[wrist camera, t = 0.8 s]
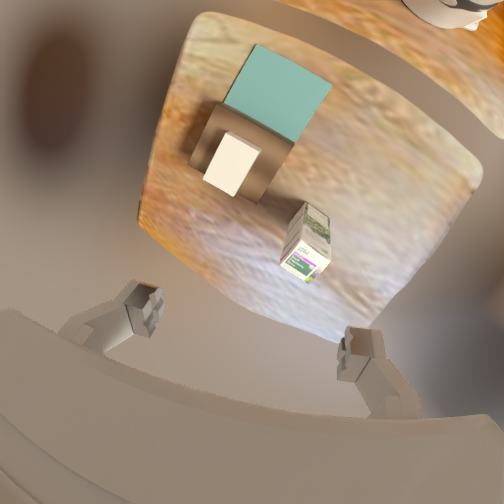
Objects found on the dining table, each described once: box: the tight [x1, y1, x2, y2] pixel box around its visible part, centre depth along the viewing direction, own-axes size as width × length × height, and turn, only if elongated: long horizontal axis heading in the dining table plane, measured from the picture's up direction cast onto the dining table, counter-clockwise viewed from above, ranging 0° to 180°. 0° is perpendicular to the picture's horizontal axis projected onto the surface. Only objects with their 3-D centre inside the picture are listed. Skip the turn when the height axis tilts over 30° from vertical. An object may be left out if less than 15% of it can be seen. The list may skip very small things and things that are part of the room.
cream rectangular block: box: [203, 131, 262, 197], centre depth 45 cm, size 9×6×2 cm, turn 152°
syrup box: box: [279, 202, 331, 284], centre depth 47 cm, size 6×6×14 cm
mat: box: [224, 45, 332, 142], centre depth 41 cm, size 12×14×1 cm
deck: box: [188, 103, 295, 204], centre depth 46 cm, size 12×14×4 cm
